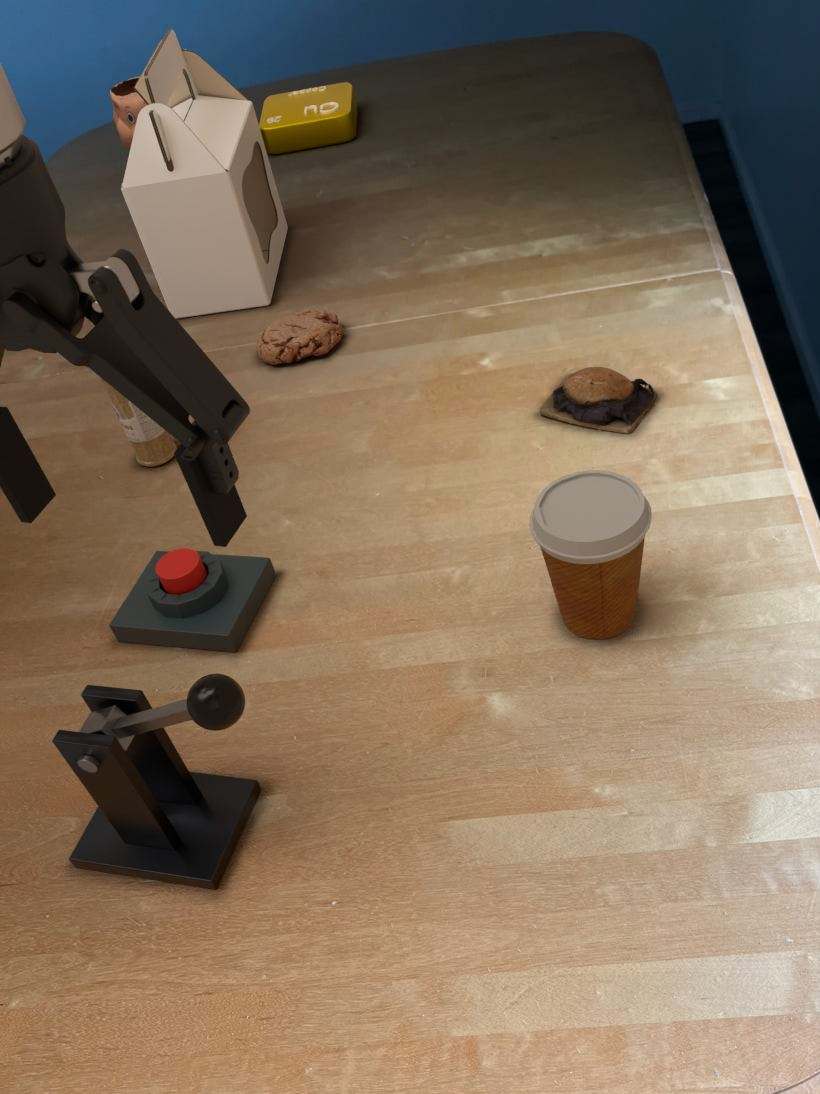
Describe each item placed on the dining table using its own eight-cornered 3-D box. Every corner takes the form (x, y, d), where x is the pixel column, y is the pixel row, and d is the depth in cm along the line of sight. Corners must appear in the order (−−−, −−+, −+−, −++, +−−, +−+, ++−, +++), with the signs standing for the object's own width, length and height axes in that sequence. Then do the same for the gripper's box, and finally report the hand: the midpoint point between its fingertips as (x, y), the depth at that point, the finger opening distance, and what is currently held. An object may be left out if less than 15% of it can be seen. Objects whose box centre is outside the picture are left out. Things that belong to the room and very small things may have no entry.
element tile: (358, 106, 179) (351, 76, 176) (356, 141, 169) (349, 110, 166) (271, 122, 180) (263, 92, 177) (265, 157, 170) (256, 126, 167)
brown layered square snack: (535, 419, 111) (531, 389, 108) (571, 375, 115) (568, 345, 113) (628, 439, 106) (626, 408, 104) (662, 392, 111) (661, 362, 108)
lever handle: (264, 692, 68) (227, 656, 66) (243, 736, 65) (204, 701, 64) (125, 730, 76) (88, 699, 74) (102, 770, 73) (63, 739, 71)
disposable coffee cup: (563, 567, 95) (550, 460, 86) (667, 583, 91) (665, 474, 83) (527, 643, 89) (510, 536, 80) (637, 663, 86) (631, 554, 77)
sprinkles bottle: (130, 458, 117) (79, 351, 107) (165, 438, 118) (118, 331, 109) (150, 474, 114) (100, 366, 104) (186, 453, 116) (140, 345, 106)
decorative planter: (136, 156, 178) (104, 68, 168) (207, 140, 179) (179, 51, 169) (134, 204, 164) (98, 112, 154) (211, 186, 165) (180, 93, 155)
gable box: (199, 241, 152) (124, 28, 132) (288, 227, 151) (227, 10, 131) (171, 321, 137) (81, 94, 117) (270, 307, 136) (197, 75, 115)
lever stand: (262, 788, 83) (203, 672, 73) (216, 890, 77) (146, 779, 67) (127, 771, 86) (54, 658, 76) (74, 867, 80) (-13, 759, 70)
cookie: (243, 354, 128) (236, 332, 126) (310, 314, 133) (303, 292, 131) (293, 379, 123) (286, 357, 121) (360, 337, 127) (355, 314, 125)
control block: (117, 641, 96) (100, 611, 94) (164, 566, 103) (149, 536, 100) (236, 652, 93) (221, 621, 90) (276, 574, 100) (264, 542, 97)
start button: (156, 593, 95) (147, 577, 93) (175, 563, 97) (167, 546, 96) (195, 596, 94) (188, 580, 92) (213, 565, 96) (206, 549, 95)
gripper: (229, 117, 46) (345, 498, 61) (-196, 128, 54) (1, 463, 69) (141, 197, 41) (290, 587, 56) (-311, 196, 49) (-72, 539, 64)
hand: (132, 519), depth 63 cm, fingers open, 13 cm apart
